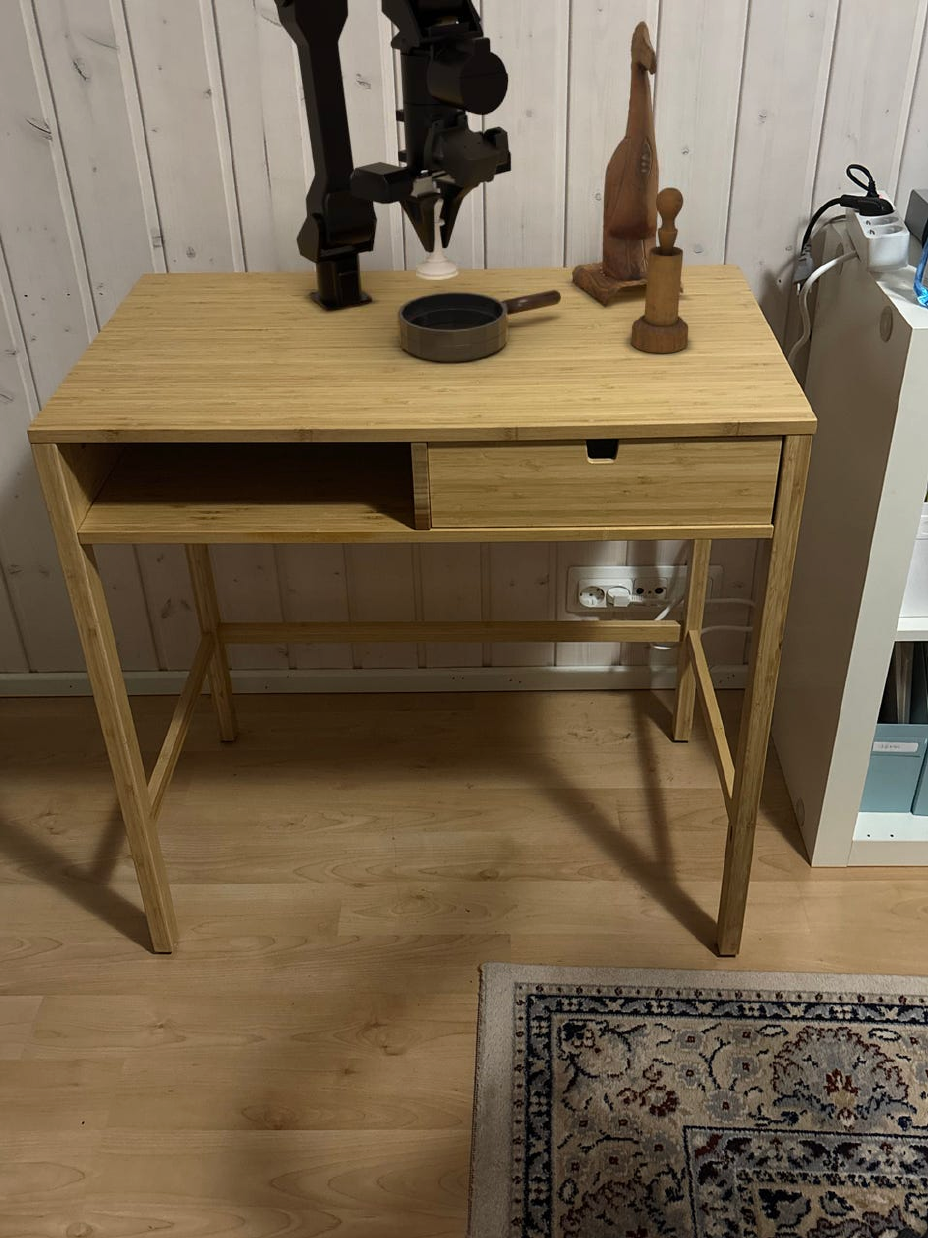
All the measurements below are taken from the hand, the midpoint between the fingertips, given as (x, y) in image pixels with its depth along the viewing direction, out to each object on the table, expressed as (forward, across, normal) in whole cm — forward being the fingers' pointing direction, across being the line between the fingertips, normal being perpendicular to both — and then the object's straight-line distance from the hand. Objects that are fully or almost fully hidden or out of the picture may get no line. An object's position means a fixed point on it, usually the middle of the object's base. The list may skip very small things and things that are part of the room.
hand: (436, 249), depth 131 cm
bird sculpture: (+13, +33, 0) cm, 35 cm away
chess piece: (+3, 0, 0) cm, 3 cm away
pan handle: (+11, +14, 0) cm, 18 cm away
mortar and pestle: (+13, +21, -16) cm, 29 cm away
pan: (+13, +4, +2) cm, 14 cm away
